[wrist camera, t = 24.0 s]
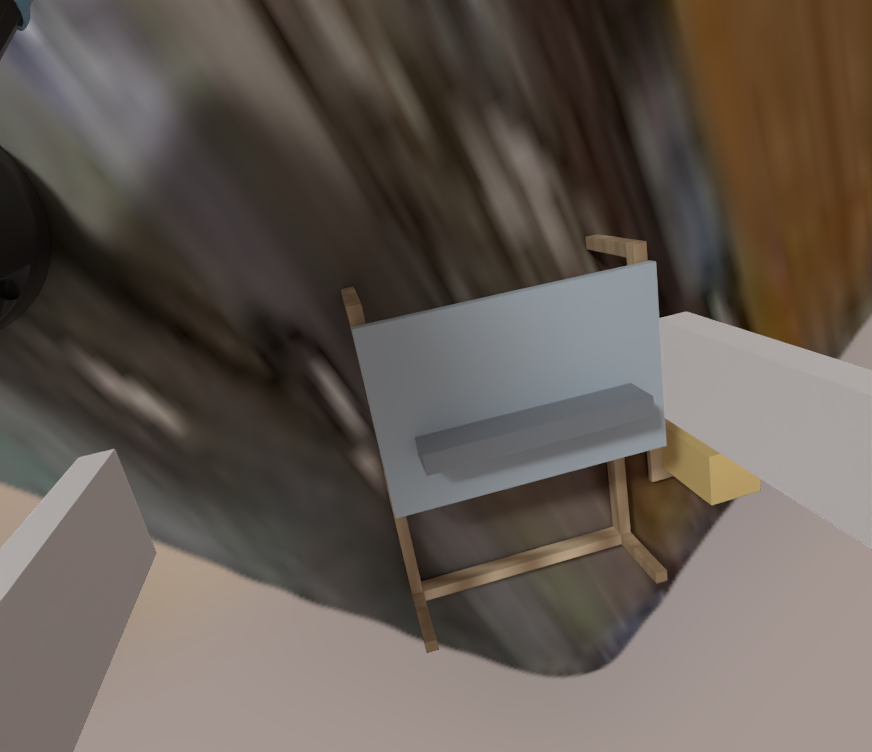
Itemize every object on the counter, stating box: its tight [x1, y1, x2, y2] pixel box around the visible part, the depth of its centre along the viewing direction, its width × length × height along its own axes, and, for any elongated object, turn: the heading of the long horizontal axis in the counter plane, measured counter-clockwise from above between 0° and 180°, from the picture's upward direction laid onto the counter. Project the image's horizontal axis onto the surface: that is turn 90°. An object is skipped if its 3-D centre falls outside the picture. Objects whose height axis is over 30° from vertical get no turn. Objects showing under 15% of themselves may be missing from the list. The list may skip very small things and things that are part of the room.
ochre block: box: [662, 422, 761, 505], centre depth 51 cm, size 4×4×7 cm
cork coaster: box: [647, 419, 673, 482], centre depth 55 cm, size 7×7×1 cm
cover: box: [351, 260, 667, 519], centre depth 40 cm, size 21×14×4 cm, turn 101°
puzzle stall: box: [340, 234, 667, 653], centre depth 48 cm, size 21×28×8 cm
